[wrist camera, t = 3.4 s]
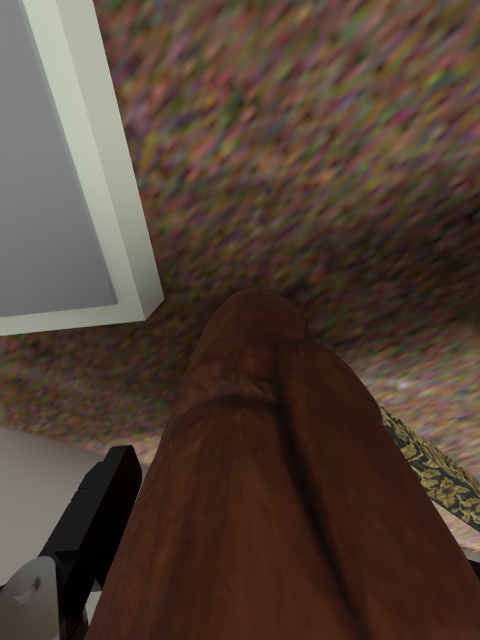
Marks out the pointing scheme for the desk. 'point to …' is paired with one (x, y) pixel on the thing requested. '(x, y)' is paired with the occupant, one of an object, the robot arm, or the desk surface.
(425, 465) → the decorative block
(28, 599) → the robot arm
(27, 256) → the plinth
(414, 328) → the desk surface
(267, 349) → the wooden figurine
